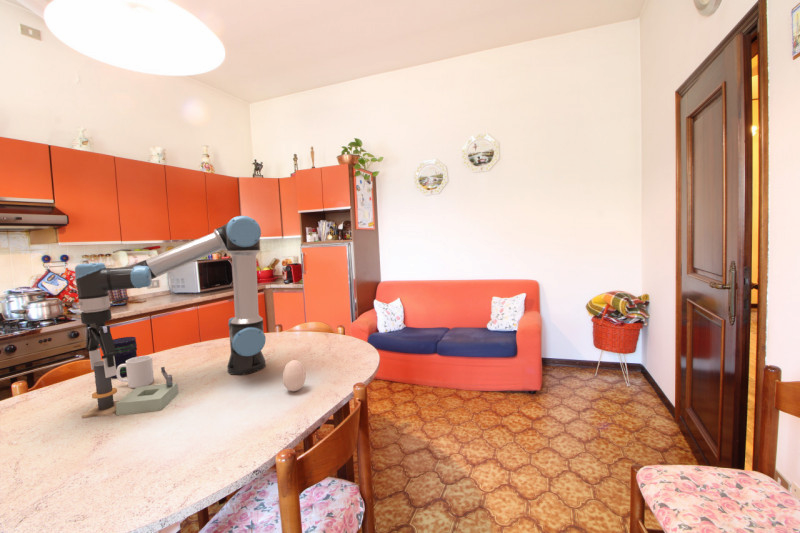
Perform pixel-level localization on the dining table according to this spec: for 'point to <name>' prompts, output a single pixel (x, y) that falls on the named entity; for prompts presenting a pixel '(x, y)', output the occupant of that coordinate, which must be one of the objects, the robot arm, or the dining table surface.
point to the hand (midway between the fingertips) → (103, 372)
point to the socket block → (146, 399)
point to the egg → (294, 375)
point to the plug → (103, 387)
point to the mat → (100, 411)
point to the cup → (137, 371)
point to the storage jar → (124, 353)
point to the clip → (167, 377)
